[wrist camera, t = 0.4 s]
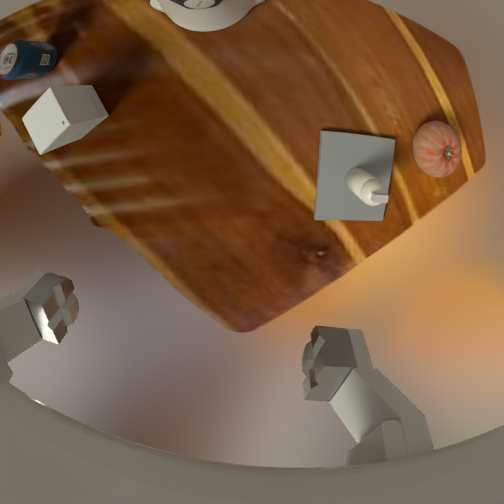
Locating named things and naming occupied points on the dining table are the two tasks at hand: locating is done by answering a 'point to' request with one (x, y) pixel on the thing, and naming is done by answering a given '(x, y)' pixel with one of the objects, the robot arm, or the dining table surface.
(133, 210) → the dining table surface
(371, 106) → the dining table surface
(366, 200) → the white rounded bottle
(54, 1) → the dining table surface
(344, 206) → the grey pad
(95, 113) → the supplement box
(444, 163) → the tomato
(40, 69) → the soda can
